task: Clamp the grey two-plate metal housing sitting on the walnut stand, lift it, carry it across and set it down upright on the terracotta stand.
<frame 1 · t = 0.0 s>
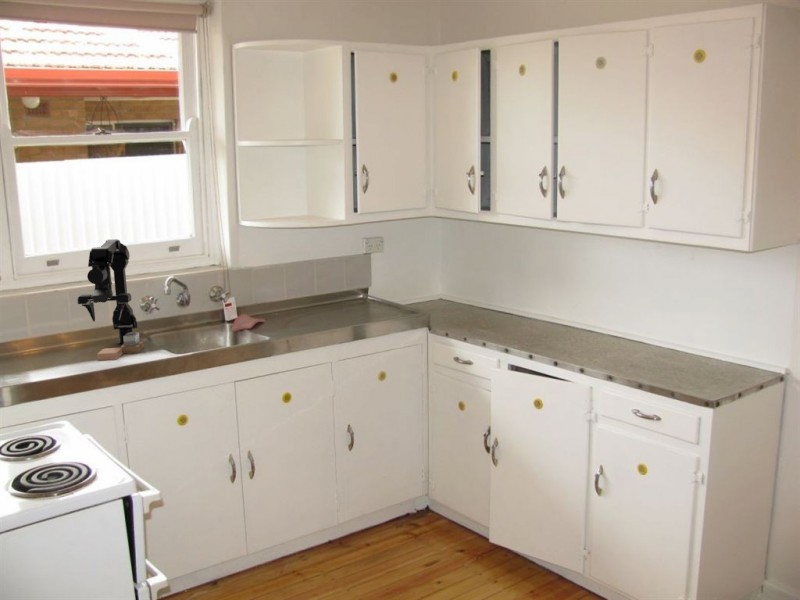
hand: (106, 320, 321), 14 cm above the countertop, tool pointing down, fingers open, 9 cm apart
housing: (131, 344, 335), point 2 cm above the countertop, touching stand a
stand a: (132, 350, 335), on the countertop
stand b: (110, 357, 325), on the countertop
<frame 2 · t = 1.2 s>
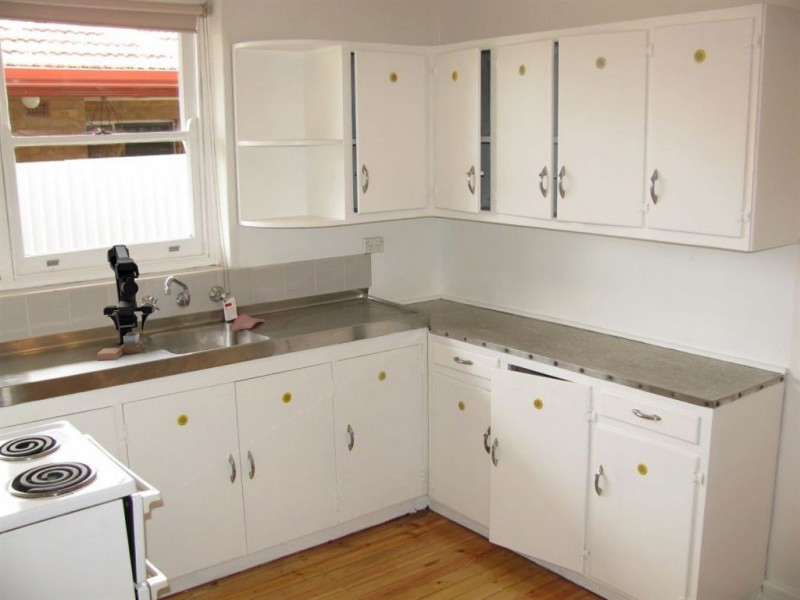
hand: (130, 330, 334), 8 cm above the countertop, tool pointing down, fingers open, 9 cm apart
nothing on the countertop moved.
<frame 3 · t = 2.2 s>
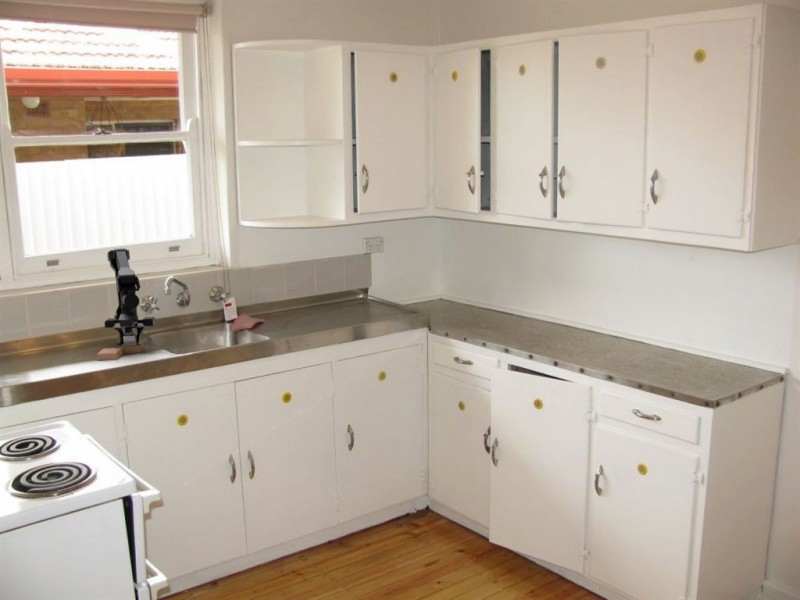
hand: (131, 343, 335), 3 cm above the countertop, tool pointing down, fingers closed on housing, 4 cm apart
housing: (131, 344, 335), point 2 cm above the countertop, touching gripper, stand a
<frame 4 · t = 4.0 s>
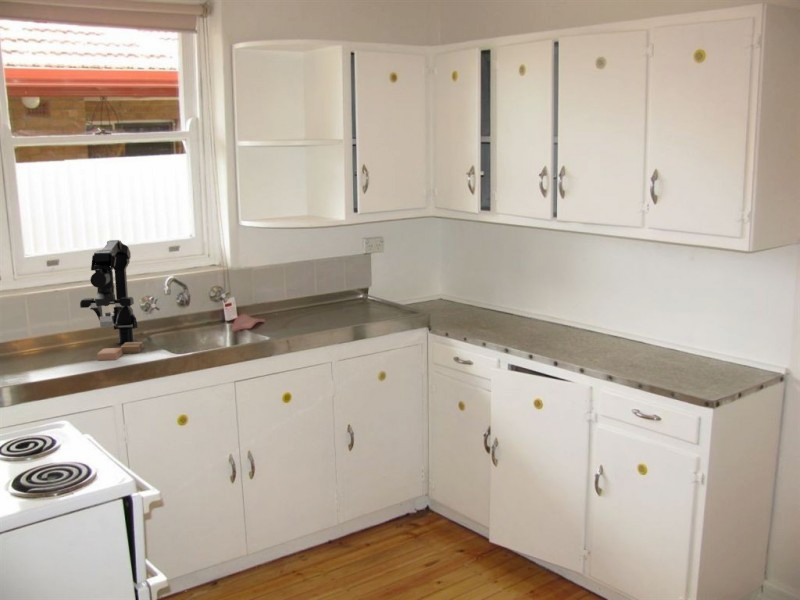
hand: (108, 324, 323), 13 cm above the countertop, tool pointing down, fingers closed on housing, 4 cm apart
housing: (108, 325, 323), point 12 cm above the countertop, touching gripper
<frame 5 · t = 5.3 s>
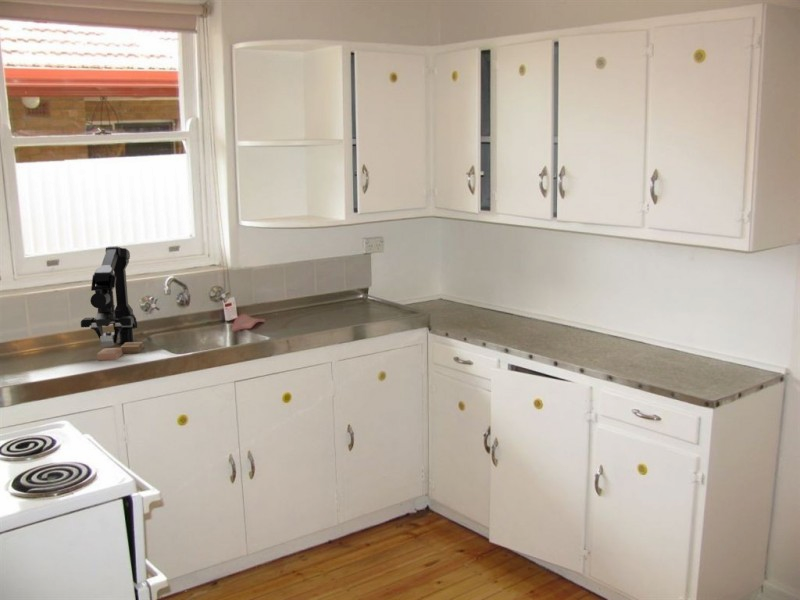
hand: (109, 343, 324), 5 cm above the countertop, tool pointing down, fingers closed on housing, 4 cm apart
housing: (109, 344, 324), point 5 cm above the countertop, touching gripper
when the fingers open (4 cm above the countertop, at t = 6.0 s): housing stays where it is, resting on stand b.
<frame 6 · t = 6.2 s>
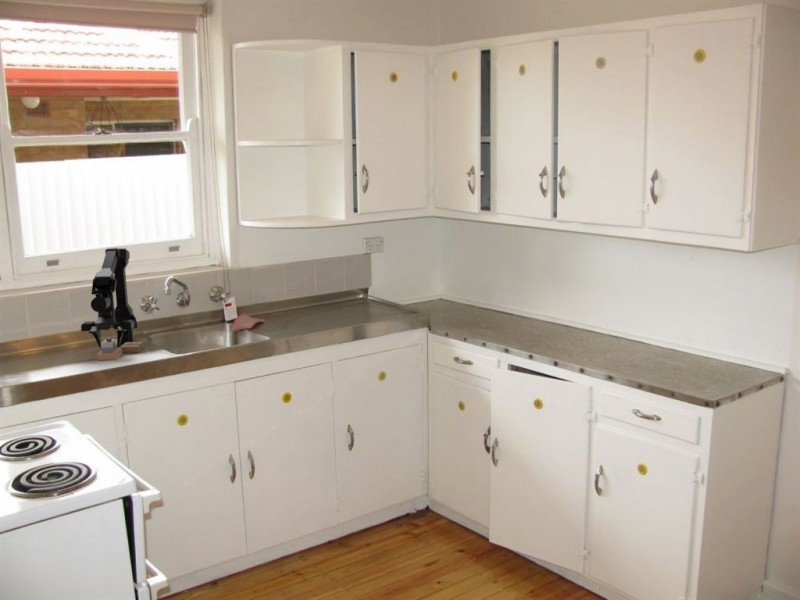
hand: (109, 347, 324), 4 cm above the countertop, tool pointing down, fingers open, 6 cm apart
housing: (109, 350, 324), point 2 cm above the countertop, touching stand b
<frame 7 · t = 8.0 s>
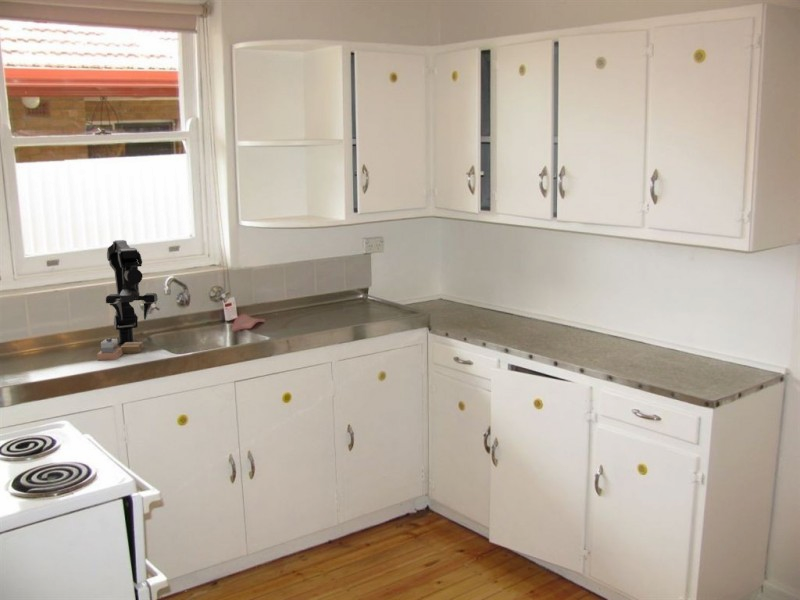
hand: (133, 319, 332), 13 cm above the countertop, tool pointing down, fingers open, 9 cm apart
nothing on the countertop moved.
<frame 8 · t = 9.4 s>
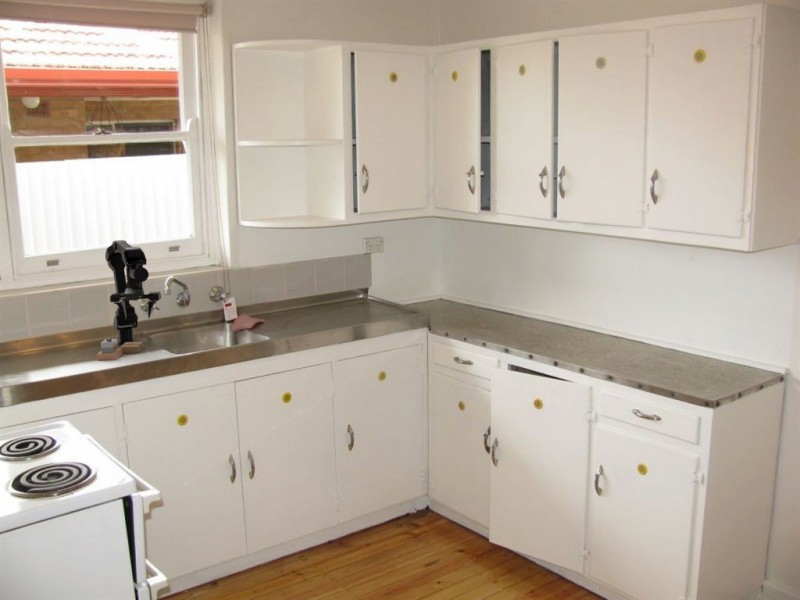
hand: (137, 318, 333), 13 cm above the countertop, tool pointing down, fingers open, 9 cm apart
nothing on the countertop moved.
at the end: housing 0.0 cm off-centre on the stand b, point 2.5 cm above the stand b's base; housing tilted 0°; the gripper is holding nothing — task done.
